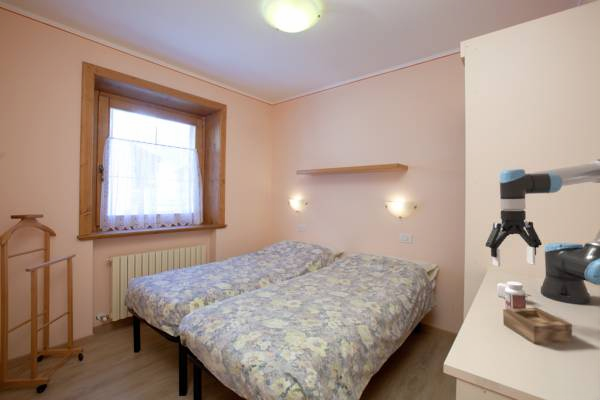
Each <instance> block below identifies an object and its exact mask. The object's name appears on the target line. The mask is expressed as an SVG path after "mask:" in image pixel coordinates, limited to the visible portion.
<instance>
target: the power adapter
mask: <svg viewBox="0 0 600 400" xmlns="http://www.w3.org/2000/svg"><path fill="white" fill-rule="evenodd" d="M507 287H508V286H507V282H506V283H505V282H499V283H497V285H496V291H497V294H496V295H497V296H498V297H500V298H502V297H503V299H505V289H506V288H507ZM531 296H532V294H528V293H525V299H527V298H528V297H531Z"/></svg>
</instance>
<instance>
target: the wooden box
mask: <svg viewBox="0 0 600 400" xmlns="http://www.w3.org/2000/svg"><path fill="white" fill-rule="evenodd" d="M502 313H503V314H502V315H503V316H502V317H503V326H505V327H507V328H508V329H510V330H511V331H513V332H514V333H516V334H518V335H520V336H521V338H523V339H526V340H527V341H529V342H530V343H532V344H533V345H539V344H541V345H542V344H555V343H572V342H573V325H572V323H570V322H568V321H566V320H564V319H562V318H560V317H558V316H555V315H553V314H551V313H549V312H547V311H545V310H543V309H541V308H539V307H526V308H518V309H506V308H504V309H502Z"/></svg>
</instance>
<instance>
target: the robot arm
mask: <svg viewBox="0 0 600 400" xmlns="http://www.w3.org/2000/svg"><path fill="white" fill-rule="evenodd" d="M584 183H593V184H600V158H599V159H593V160H591V161H588V162H587V163H585V164H584V163H583V164H579V165H572V166H565V167H559V168H554V169H547V170H541V171H535V172H529V173H526V171H525V169H523V168H522V169H521V168H520V169H516V168H515V169H505V170H502V171H501V172H500V175H499V195H500V199H499V200H500V201H499V202H500V219H501V223H500V222H493V224H492V230H491V231H490V234H489V236H488V239H487V240H486V242H485V247H488V248H489V249H490V255H491V257H492V265H493V266H496V267H501V253H500V252H501V249H500V248H499V247H500V246H501V245H502V243H503V242H504V241H505V239H507V237H509V236H510V235H519V236H520V237H521V238H522V240H523V241H525V243H526V244H527V245H528V246H526V263H527V264H530V265H536V255H537V248H539V247H540V246H542V245H543V244H542V241H541V240H540V237H539V236H538V234H537V231H536V229H535V227H534V223H533V221H527V220H526V217H527V213H526V195H530V194H531V195H532V194H552V193H553V194H555V193H557V192H559V191H560V190H561V189H562V187H563V186H565V187H566V186H571V185H578V184H579V185H580V184H584ZM525 220H526V221H525ZM544 261H545V262H544V264H545V267H544V268H545V277H544V279H543V281H542V282H543V283H542V285H541V286H540V294H541V295H542V296H543V297H546V298H548V299H551V300H555V301H558V302H563V303H568V304H578V305H581V304H582V305H583V304H585V305H586V304H589V303H591V300H592V298H591V294H590V293H589V292H588V288H587V285H586V283H585V282H588V283H590V284H593V285H596V286H600V229H599V230H598V232H597V234H596V235H595V237H594V239H593V240H592V241H589V242H585V243H584V245H583V244H582V243H575V242H574V243H573V242H572V243H570V242H554V243H553V242H550V243H547V244H546V245H545V248H544Z"/></svg>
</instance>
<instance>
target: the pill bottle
mask: <svg viewBox="0 0 600 400" xmlns="http://www.w3.org/2000/svg"><path fill="white" fill-rule="evenodd" d="M506 283H507V286H508V287H507V288H506V289H505V298H504V299H505V309H518V308H527V304H526V299H527V298H526V297H525V296H526V295H525V294H526V291H525V290H524V289H523V287H524V286H523V285H524V284H523V283H521V282H519V281H507V282H506Z"/></svg>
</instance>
